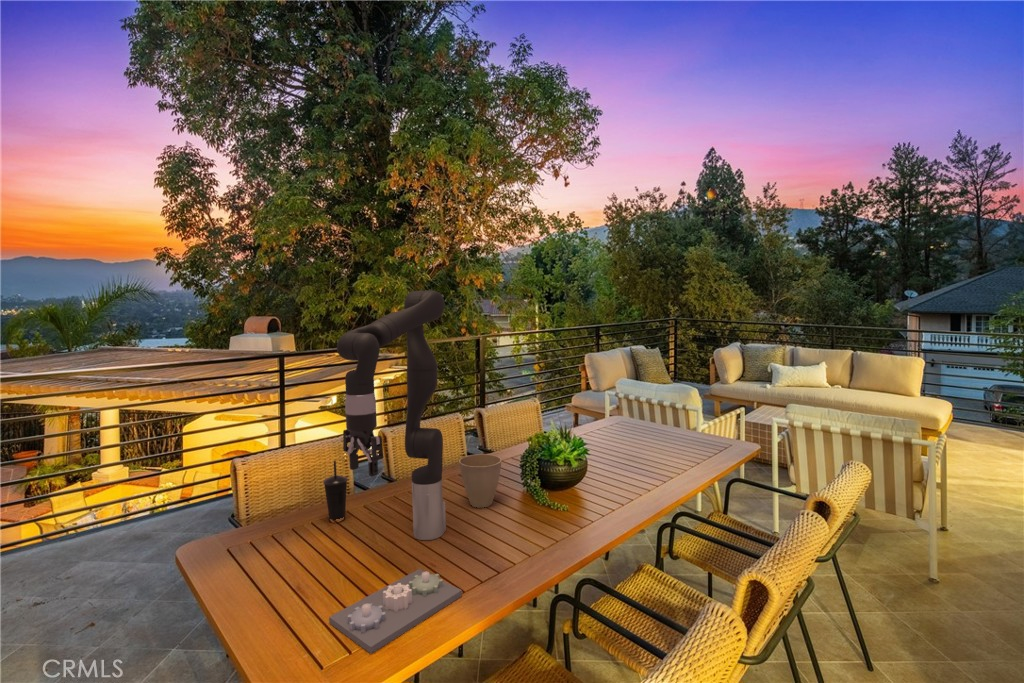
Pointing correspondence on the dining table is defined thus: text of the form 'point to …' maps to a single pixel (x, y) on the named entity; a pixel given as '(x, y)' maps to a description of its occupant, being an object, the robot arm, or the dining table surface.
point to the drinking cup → (336, 495)
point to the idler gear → (397, 597)
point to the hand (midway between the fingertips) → (363, 472)
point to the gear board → (382, 626)
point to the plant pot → (480, 478)
